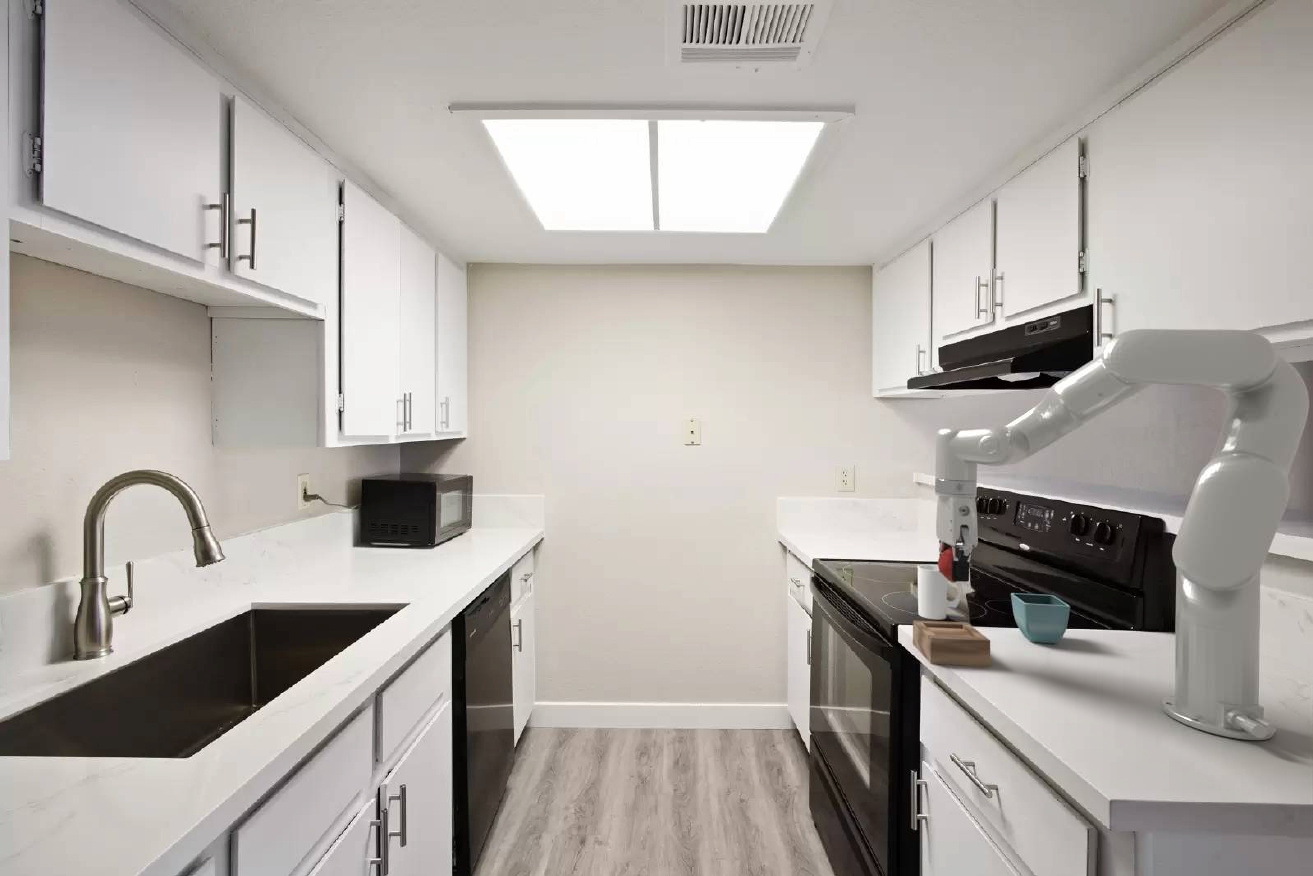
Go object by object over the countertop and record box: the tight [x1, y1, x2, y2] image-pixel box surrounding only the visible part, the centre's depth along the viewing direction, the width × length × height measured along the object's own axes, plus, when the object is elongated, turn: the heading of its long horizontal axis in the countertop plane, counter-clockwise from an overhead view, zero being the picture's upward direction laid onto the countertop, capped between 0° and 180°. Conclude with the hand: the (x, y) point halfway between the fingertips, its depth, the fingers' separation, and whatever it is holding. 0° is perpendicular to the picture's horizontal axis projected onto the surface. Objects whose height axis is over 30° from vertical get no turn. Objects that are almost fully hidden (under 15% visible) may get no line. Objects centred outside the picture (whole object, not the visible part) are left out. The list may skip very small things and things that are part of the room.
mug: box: [917, 564, 964, 621], centre depth 144 cm, size 10×7×12 cm, turn 62°
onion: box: [937, 546, 971, 584], centre depth 119 cm, size 6×6×8 cm
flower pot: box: [1010, 592, 1071, 644], centre depth 128 cm, size 9×9×9 cm
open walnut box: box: [912, 620, 991, 667], centre depth 119 cm, size 11×11×5 cm
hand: (953, 576), depth 119 cm, fingers closed on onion, 5 cm apart
